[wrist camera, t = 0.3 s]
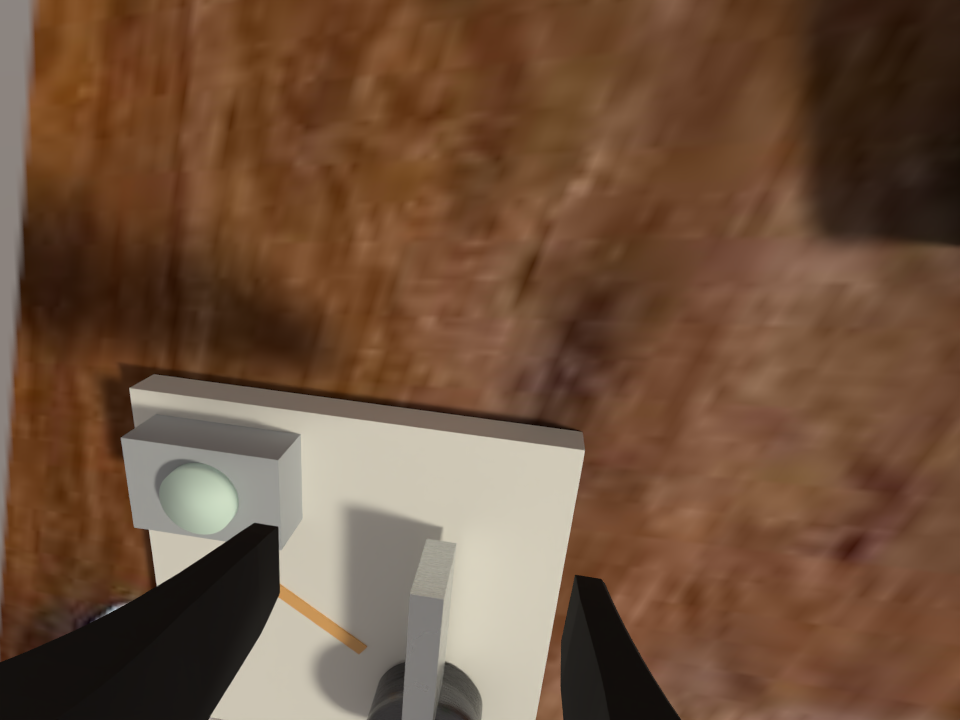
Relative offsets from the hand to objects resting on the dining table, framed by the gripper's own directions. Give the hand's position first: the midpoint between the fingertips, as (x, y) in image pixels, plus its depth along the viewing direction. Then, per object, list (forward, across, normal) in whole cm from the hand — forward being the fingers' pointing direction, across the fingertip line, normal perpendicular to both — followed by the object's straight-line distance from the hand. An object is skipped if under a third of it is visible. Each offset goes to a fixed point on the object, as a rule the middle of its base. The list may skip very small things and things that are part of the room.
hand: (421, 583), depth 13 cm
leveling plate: (+10, +4, +9) cm, 14 cm away
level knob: (+8, 0, +11) cm, 14 cm away
